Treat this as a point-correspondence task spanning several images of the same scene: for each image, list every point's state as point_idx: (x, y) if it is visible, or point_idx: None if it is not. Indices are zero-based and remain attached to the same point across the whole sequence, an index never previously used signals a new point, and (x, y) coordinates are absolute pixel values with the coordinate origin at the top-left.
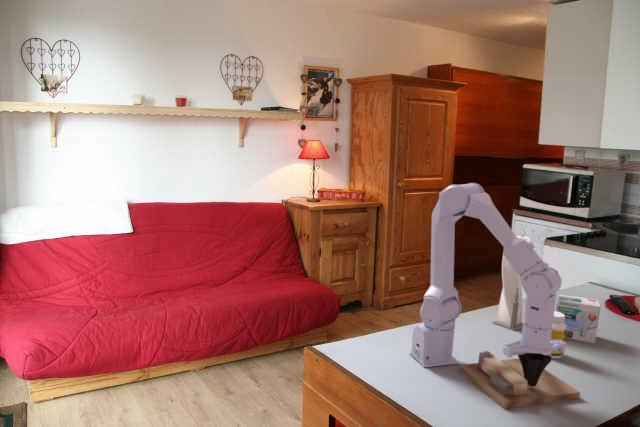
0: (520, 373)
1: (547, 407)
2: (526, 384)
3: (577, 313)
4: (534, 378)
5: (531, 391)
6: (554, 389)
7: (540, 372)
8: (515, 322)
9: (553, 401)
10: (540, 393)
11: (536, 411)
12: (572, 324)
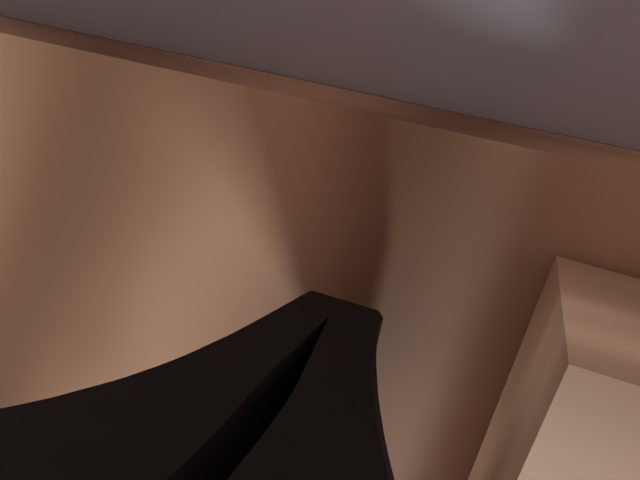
0: None
1: (406, 20)
2: (580, 332)
3: None
4: (336, 353)
5: (395, 271)
6: (118, 174)
7: (208, 372)
8: None
9: (252, 70)
10: (333, 191)
11: (630, 6)
12: None
